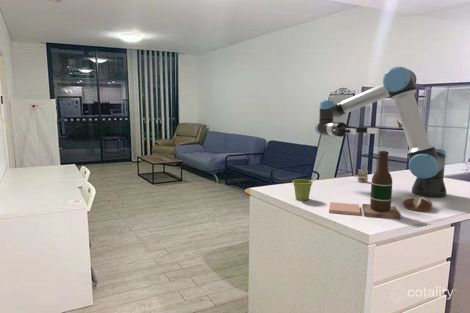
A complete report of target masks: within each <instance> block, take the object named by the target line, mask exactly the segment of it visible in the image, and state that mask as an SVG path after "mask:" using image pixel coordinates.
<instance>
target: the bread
mask: <svg viewBox="0 0 470 313" xmlns="http://www.w3.org/2000/svg"><path fill="white" fill-rule="evenodd" d="M402 204H403V207H404V208H405V209H407V210H409V211H416V212H421V213H423V212H424V213H425V212H429V211H431V209H432V208H433V202H432V200H430V199H429V198H427V197H426V196H421V197H417V196H415V195H414V196H409V197H406V198H405V199H403V202H402Z"/></svg>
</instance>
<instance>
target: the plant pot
mask: <svg viewBox="0 0 470 313" xmlns="http://www.w3.org/2000/svg"><path fill="white" fill-rule="evenodd" d="M292 183H293V186H294V195H295V196H294V197H295V199H296V200H297V201H298V200H299V201H303V202H304V201H308V200H309V198H310V192H311V188H312V186H313V183H314V181H313V180H310V179H304V178H303V179H301V178H300V179H298V178H297V179H293V180H292Z"/></svg>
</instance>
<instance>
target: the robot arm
mask: <svg viewBox="0 0 470 313" xmlns="http://www.w3.org/2000/svg"><path fill="white" fill-rule="evenodd" d="M416 84H417V75H416V74H415V72H413V70H411V69H408V68H406V67H405V66H395V67H391V68H390V69H388V70H387V71H386V72H384V74H383V77H382V83H381V84H379V85H377V86H374V87H371V88H369V89H367V90H365V91H362V92H359V93H357V94H355V95H353V96H350V97H349V98H346V99H344V100H341V101H339V102H337V103H335V102H334V100H332V99H324V100H320V102H319V116H318V117H319V120H318V122H316V125H315V127H314V128H315V132H316V133H317V134H318V135H322V136H332V137H333V138H335V137H340V138H341V137H345V135H357V133H360V134H361V133H366V134H373V135H374V134H376V135H378V134H379V130H380V129H379V127H378V128H377V127H370V126H367V127H360V126H359V127H357V126H350V125H347V124H346V123H345V122H341V121H334V118H341V117H343V116H344V115H346V114H348V113H351V112H353V111H355V110H358V109H361V108H363V107H365V106H368V105H371V104H373V103H375V102H378V101H381V100H383V99H386V98H388V97H389V99H390V100H391V101H394V104H395V107H396V109H397V112H398V113H397V114H398V116H399V120H400V122H401V125H402V129H403V132H404V134H405V135H404V136H405V139H406V141H407V145H408V151H407V153H406V154H407V156H408V160H409V161H408V168H409V171H410V173H411V174H412V176H415V177H416V178H415V180H414V182H413V184H412V188H411V193H413V195H414V194H415V195H418V196H421V197H426V198H427V197H428V198H444V197H447V188H446V185H445V181H444V176H445V165H446V157H447V154H446V150H445V149H441V148H436V147H435V145H434V144H431V143H430V140H429V138H428V134H427V132H426V128H425V125H424V122H423V119H422V116H421V112H420V110H419V106H418V103H417V100H416V97H415V94H416V93H417V87H416Z"/></svg>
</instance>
